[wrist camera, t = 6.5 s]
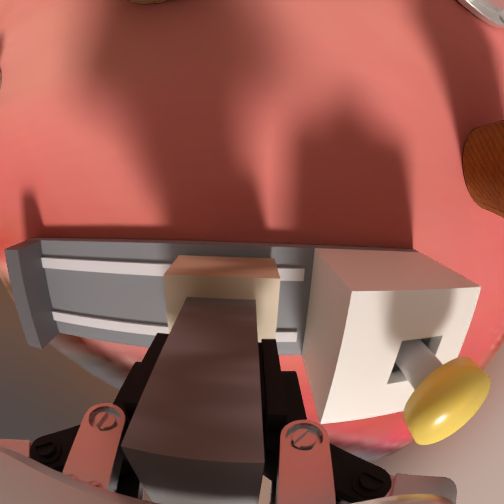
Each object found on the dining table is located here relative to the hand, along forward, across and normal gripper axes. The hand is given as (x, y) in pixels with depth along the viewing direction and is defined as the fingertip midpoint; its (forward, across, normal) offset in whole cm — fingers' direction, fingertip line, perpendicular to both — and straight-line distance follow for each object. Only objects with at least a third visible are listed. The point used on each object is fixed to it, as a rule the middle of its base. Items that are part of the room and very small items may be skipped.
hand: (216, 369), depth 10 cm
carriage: (+5, 0, 0) cm, 5 cm away
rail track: (+7, +1, 0) cm, 7 cm away
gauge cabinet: (+6, -8, 0) cm, 10 cm away
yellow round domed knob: (+3, -9, 0) cm, 9 cm away
